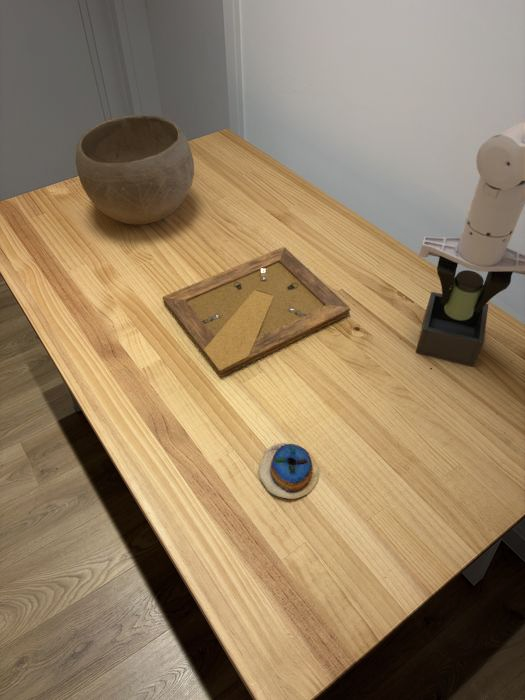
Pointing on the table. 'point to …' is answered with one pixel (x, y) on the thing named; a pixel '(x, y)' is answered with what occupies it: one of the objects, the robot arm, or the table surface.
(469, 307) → the green lidded canister
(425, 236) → the robot arm
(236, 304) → the picture frame
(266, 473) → the dessert
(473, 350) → the bin
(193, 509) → the table surface
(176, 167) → the bowl
